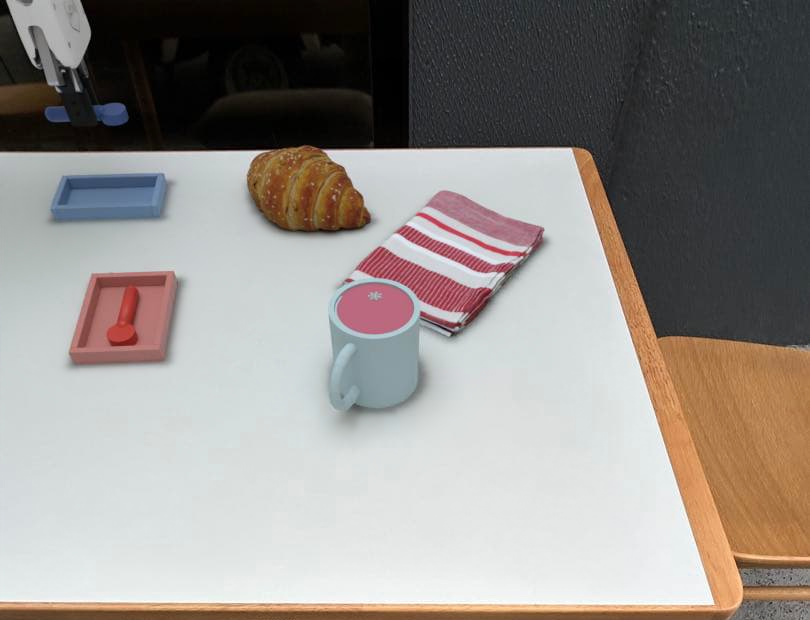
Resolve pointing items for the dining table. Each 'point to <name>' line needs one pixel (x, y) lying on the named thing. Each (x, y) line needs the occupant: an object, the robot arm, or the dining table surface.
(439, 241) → the dish towel
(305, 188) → the pastry
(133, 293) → the red spoon
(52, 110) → the blue spoon
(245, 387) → the dining table surface
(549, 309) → the dining table surface
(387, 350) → the mug
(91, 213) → the blue tray
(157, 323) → the rose tray
